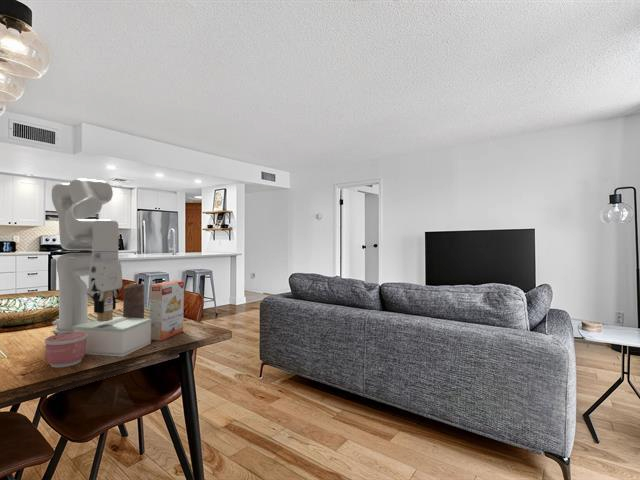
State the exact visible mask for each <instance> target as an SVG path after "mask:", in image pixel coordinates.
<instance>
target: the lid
mask: <svg viewBox="0 0 640 480" xmlns="http://www.w3.org/2000/svg"><path fill="white" fill-rule="evenodd" d="M112 317H113V319H112V320H110V321H103V322H100V321H97V319H98V318H96V319H93V320H88V321H87V322H86V323H82V324H79V325H76V326H72V329H77V330H94V331H111V332H125V331H127V330H130V329H132V328H135V327H138V326H140V325H143V324H146V323H148V322H151V321H152V319H149V317H147V318H145V317H144V318H133V317H123V316H112Z"/></svg>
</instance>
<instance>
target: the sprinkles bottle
mask: <svg viewBox="0 0 640 480" xmlns="http://www.w3.org/2000/svg"><path fill="white" fill-rule="evenodd" d="M98 291H99V290H98ZM97 295H98V296H99V293H98V294H97ZM102 301H104V313H97V318H96V319H97V321H100V322H103V321H110V320H112V319H113V317H114V316H113V311H114V310H113V290H111V291H106V292H104V294H103V299H102Z"/></svg>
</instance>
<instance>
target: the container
mask: <svg viewBox="0 0 640 480" xmlns="http://www.w3.org/2000/svg"><path fill="white" fill-rule="evenodd" d="M86 338H87V334H86V333H83V332H71V333H63V334H55V335H50V336H47V337H46V338H45V339H44V343H45V357H46V361H47V362H48V364H50V366H51V367H52V368H65V367H66V368H67V367H71V366H74V365H77V364H80V363H82V359H83V358H84V357H85V356H86V354H85V353H86Z"/></svg>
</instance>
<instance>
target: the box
mask: <svg viewBox="0 0 640 480" xmlns="http://www.w3.org/2000/svg"><path fill="white" fill-rule="evenodd" d="M74 332H83V333H86V334H87V338H86V353H85V355H96V356H107V357H121V358H122V357H125V356H127V355H129V354H131V353H133V352H136V351H137V350H140V349H142V348H145V347H146V346H148V345H150V344H151V342H152V340H151V322H148V323H146V324H143V325H140V326H138V327H135V328H132V329H130V330H127V331H125V332H111V331H94V330H77V329H74Z"/></svg>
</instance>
